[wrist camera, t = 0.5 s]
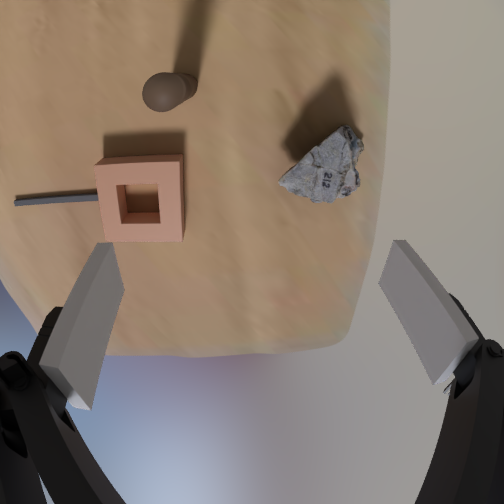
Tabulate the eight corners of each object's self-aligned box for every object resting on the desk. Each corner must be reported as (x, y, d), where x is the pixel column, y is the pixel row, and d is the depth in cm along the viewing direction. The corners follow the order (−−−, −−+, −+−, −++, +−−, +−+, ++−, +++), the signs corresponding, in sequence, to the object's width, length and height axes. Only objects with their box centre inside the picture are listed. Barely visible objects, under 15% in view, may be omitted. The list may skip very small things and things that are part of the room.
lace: (15, 199, 32) (13, 201, 31) (107, 192, 34) (105, 194, 33) (17, 204, 32) (14, 206, 32) (108, 198, 34) (106, 200, 34)
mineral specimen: (324, 161, 39) (292, 107, 32) (379, 160, 34) (355, 98, 27) (304, 218, 37) (263, 165, 29) (365, 222, 31) (336, 161, 24)
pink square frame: (103, 158, 31) (94, 165, 29) (182, 154, 32) (179, 161, 30) (113, 229, 37) (106, 241, 34) (185, 229, 38) (182, 241, 35)
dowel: (170, 74, 27) (142, 74, 17) (198, 73, 27) (184, 71, 17) (170, 100, 29) (142, 113, 19) (197, 99, 29) (182, 111, 19)
